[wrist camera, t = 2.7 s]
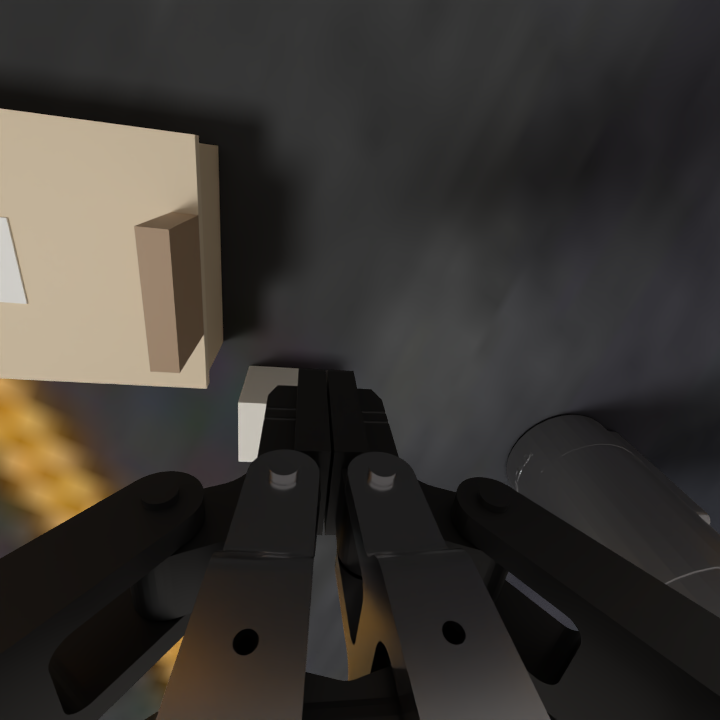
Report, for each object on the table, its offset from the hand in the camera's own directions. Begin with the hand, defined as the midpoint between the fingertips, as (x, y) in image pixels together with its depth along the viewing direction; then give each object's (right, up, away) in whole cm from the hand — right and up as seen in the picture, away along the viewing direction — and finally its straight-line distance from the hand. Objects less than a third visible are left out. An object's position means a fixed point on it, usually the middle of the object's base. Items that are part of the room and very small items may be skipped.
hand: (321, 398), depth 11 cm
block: (-5, -1, +19) cm, 20 cm away
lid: (-16, +6, +8) cm, 19 cm away
